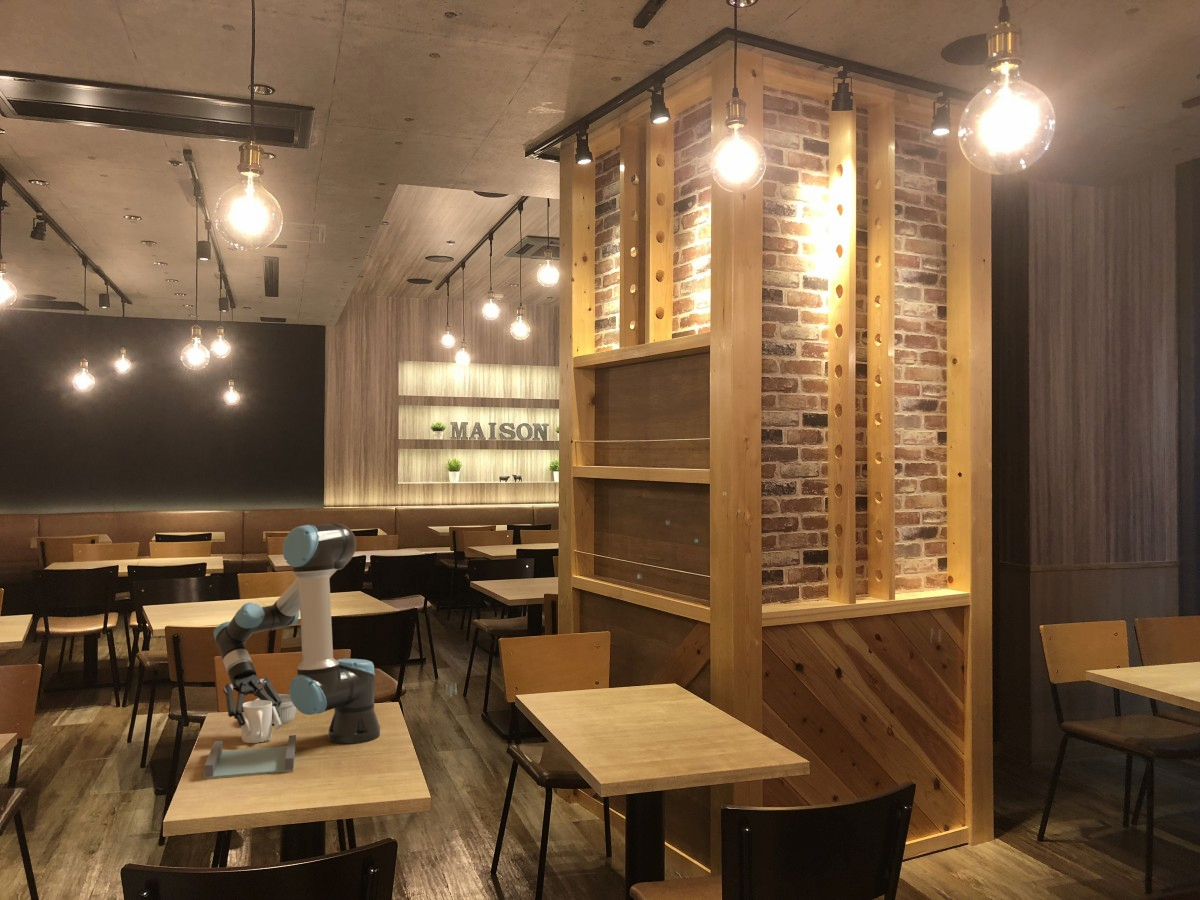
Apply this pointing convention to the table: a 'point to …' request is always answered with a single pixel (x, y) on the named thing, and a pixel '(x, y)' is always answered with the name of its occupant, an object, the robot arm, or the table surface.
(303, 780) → the table surface
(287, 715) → the ramekin
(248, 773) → the tray with side rails
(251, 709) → the mug
